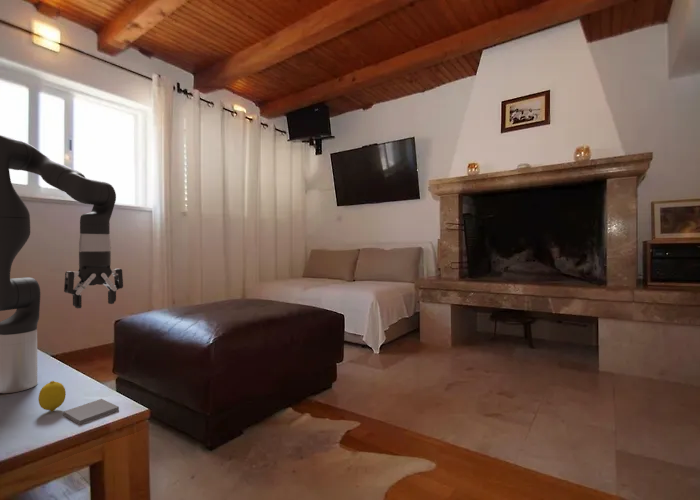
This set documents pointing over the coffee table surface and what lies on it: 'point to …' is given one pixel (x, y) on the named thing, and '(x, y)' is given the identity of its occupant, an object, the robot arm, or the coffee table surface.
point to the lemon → (52, 396)
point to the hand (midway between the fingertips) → (95, 305)
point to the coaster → (90, 411)
